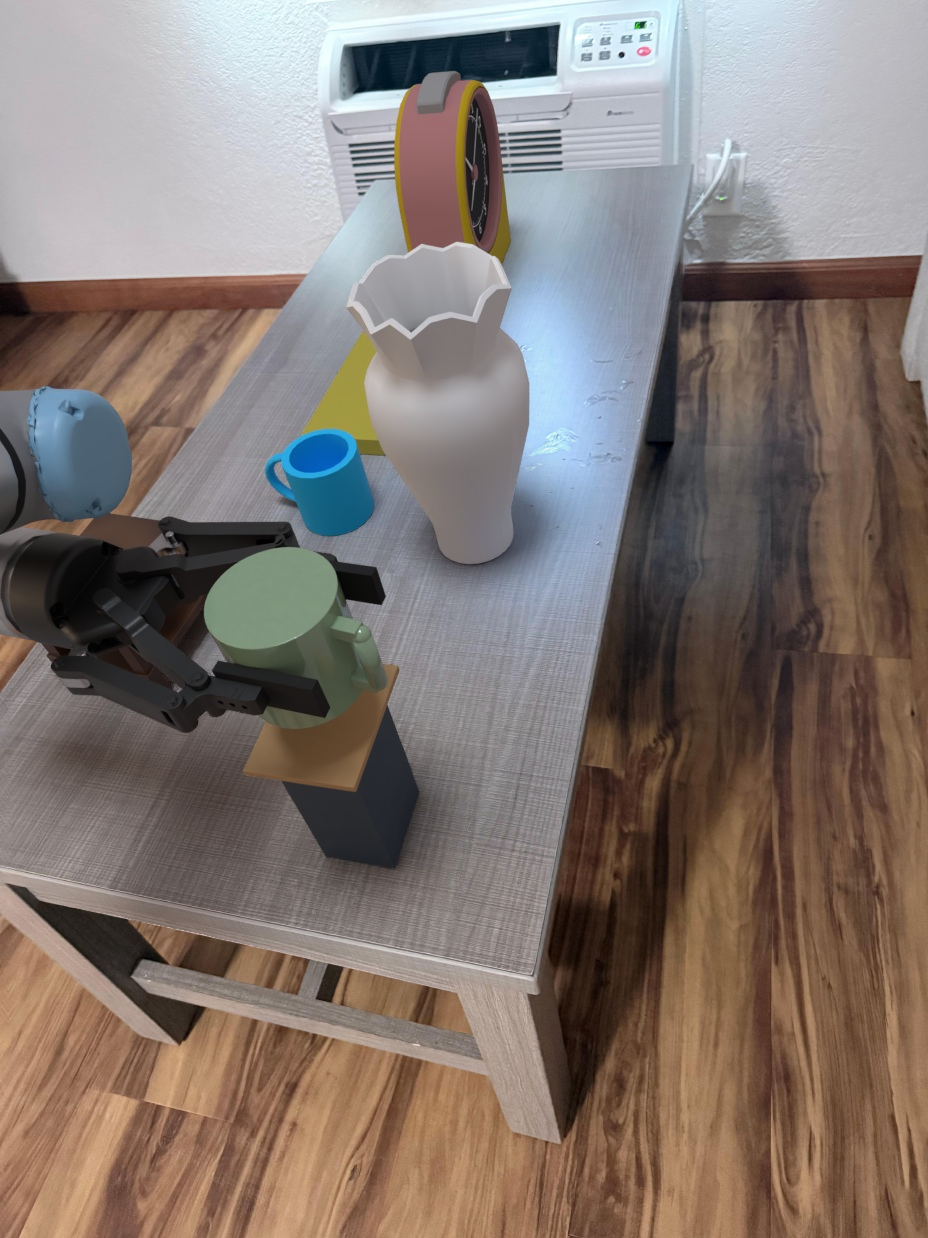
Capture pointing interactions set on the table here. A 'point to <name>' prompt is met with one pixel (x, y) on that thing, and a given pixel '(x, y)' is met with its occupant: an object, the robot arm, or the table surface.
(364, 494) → the mug
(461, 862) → the table surface
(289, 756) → the stand
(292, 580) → the green coffee cup
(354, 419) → the flat olive board
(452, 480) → the vase
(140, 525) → the rack
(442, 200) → the alarm clock
